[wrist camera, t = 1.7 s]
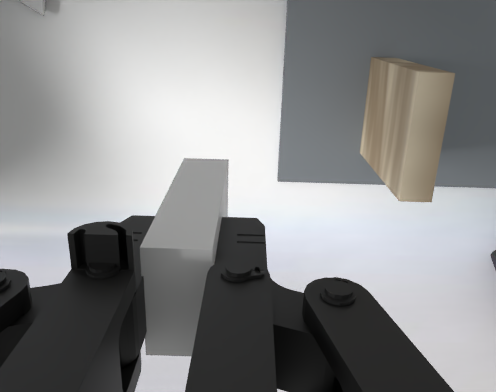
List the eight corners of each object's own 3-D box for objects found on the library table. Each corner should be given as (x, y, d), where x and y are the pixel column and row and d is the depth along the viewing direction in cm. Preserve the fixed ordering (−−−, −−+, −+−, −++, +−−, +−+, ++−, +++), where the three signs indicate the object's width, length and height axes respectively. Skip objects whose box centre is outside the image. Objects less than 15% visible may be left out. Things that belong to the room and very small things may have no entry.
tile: (359, 152, 35) (399, 201, 26) (371, 57, 33) (419, 72, 23) (385, 153, 35) (434, 202, 26) (398, 57, 33) (458, 73, 23)
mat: (277, 179, 36) (277, 181, 36) (296, -157, 29) (297, -160, 28) (529, 187, 37) (533, 189, 36) (617, -146, 29) (623, -149, 28)
